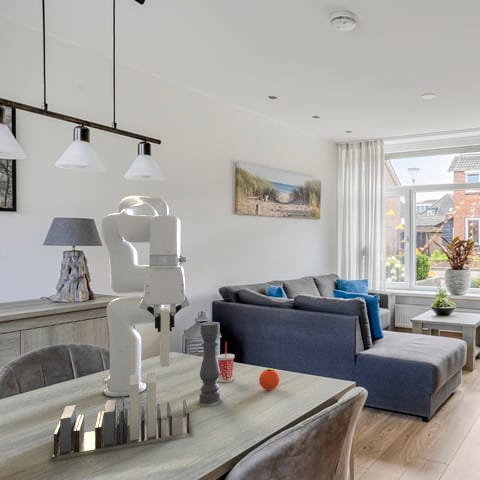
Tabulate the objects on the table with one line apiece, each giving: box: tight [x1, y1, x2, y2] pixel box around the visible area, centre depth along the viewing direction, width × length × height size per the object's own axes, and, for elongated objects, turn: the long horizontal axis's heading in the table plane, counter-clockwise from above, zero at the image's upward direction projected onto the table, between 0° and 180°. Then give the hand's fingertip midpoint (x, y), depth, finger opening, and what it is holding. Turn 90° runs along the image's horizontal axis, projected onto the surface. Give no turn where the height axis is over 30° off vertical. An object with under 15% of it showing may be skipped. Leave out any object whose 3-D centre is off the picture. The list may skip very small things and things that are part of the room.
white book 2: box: [146, 372, 157, 438], centre depth 119 cm, size 2×9×14 cm, turn 26°
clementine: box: [258, 367, 281, 391], centre depth 155 cm, size 8×7×7 cm
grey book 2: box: [104, 399, 117, 445], centre depth 114 cm, size 2×9×8 cm, turn 26°
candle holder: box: [198, 321, 221, 404], centre depth 141 cm, size 6×6×25 cm
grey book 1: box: [59, 404, 77, 453], centre depth 110 cm, size 2×9×8 cm, turn 26°
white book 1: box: [129, 374, 140, 441], centre depth 117 cm, size 2×9×14 cm, turn 26°
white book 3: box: [159, 306, 170, 368], centre depth 120 cm, size 2×9×14 cm, turn 26°
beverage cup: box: [216, 341, 236, 383], centre depth 164 cm, size 6×6×14 cm
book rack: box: [52, 396, 191, 458], centre depth 116 cm, size 30×12×9 cm, turn 116°
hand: (164, 330), depth 120 cm, fingers closed on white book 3, 2 cm apart
